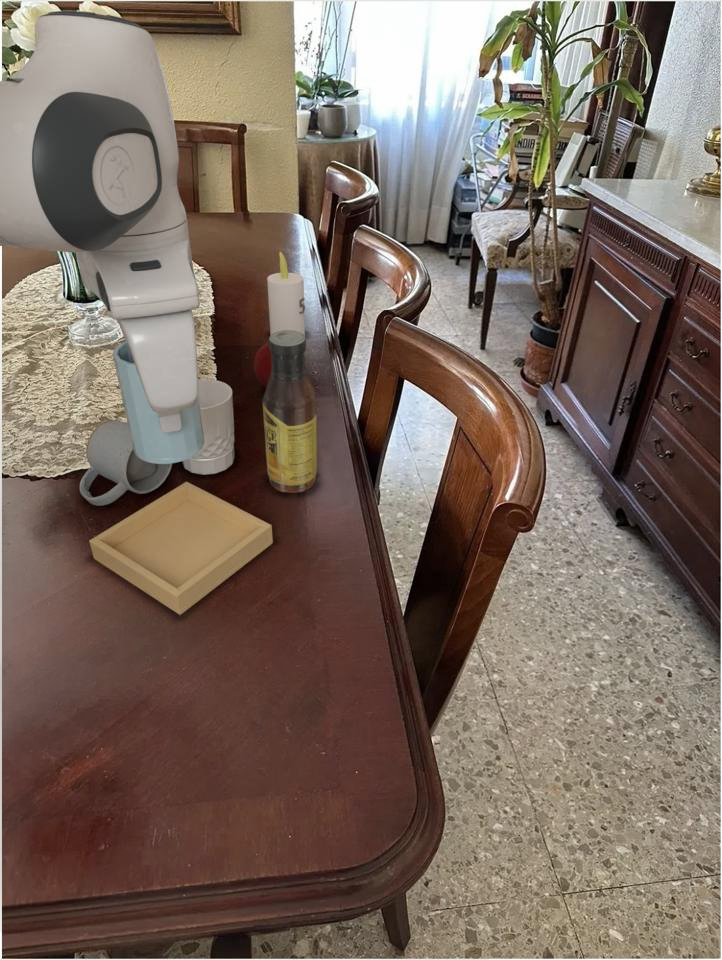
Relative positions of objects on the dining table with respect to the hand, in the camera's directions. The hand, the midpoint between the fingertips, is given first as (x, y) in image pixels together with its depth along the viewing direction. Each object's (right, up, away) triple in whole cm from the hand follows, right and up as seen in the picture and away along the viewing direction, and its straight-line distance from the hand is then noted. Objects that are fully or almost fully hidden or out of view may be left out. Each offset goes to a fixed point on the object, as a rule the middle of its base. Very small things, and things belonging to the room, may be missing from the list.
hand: (162, 407), depth 61 cm
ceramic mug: (-11, -8, +21) cm, 25 cm away
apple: (+6, +7, +43) cm, 44 cm away
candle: (+5, +20, +60) cm, 63 cm away
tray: (-1, -15, +11) cm, 18 cm away
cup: (0, -3, +2) cm, 4 cm away
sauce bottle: (+10, -7, +22) cm, 25 cm away
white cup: (-2, -4, +26) cm, 26 cm away
